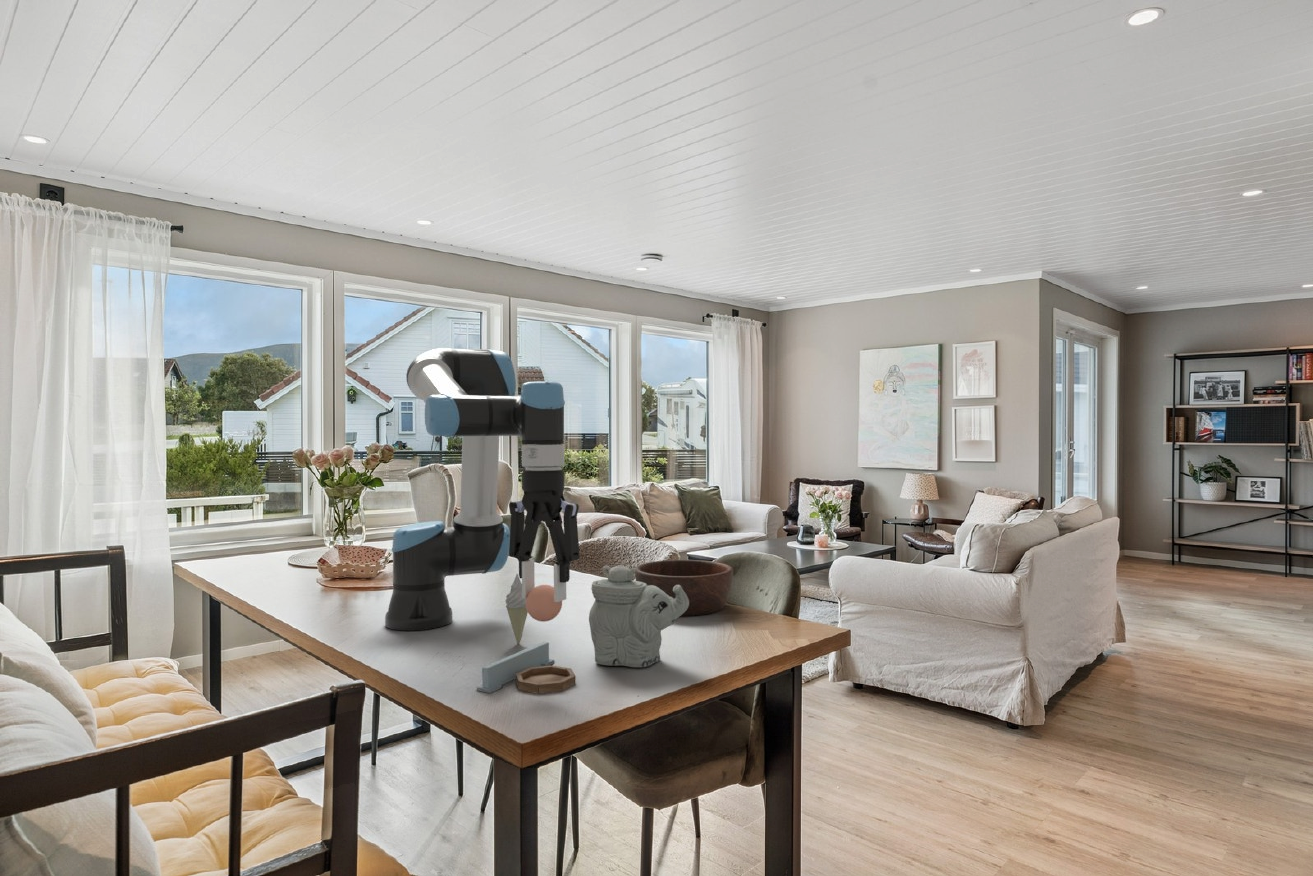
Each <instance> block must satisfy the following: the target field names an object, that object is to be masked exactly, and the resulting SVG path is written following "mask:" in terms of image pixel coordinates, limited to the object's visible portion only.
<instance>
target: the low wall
mask: <svg viewBox="0 0 1313 876" xmlns="http://www.w3.org/2000/svg"><path fill="white" fill-rule="evenodd" d="M554 664H555V659H550V642H548V641H543V642H539V643H537V644H535V645H533V646H529V647H528V648H525V649H523V650H520V651H518V652H515V653H513V654H511V655H508V656H506V657H503V658H502V659H498V660H496V661H495V662H492V663H490V664H487V665H483V666H482V667H481V668H482V669H481V670H482V672H481V673H482V674H481V675H482V676H481V677H482V681H481V682H482V684H480V685H477V686H476V691H478V692H483V693H489V694H491V693H494V692H496V691H497V690H499V689H502V685H504V684H506V683H507V684H508V683H509V682H511V681H513V680H516V674H517V673H519V672H521V671H524V670H526V669H528V668H531V667H541V666H552V665H554Z"/></svg>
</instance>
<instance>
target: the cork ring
mask: <svg viewBox="0 0 1313 876" xmlns="http://www.w3.org/2000/svg"><path fill="white" fill-rule="evenodd" d="M576 679H577V678H576V674H575V672H574V671H573V669H572V668H571V667H569V668H568V667H564V666H558V665H549V666H541V667H531V668H528V669H526V670H524V671H521V672H519V673H517V674H516V679H515V684H516V686H517V688H518V690H519V691H523V692H529V693H534V694H546V693H555V692H562V691H565V690H567V689H569V688H570V687H573V686H574V685H576V682H577V681H576Z"/></svg>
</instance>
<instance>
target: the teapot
mask: <svg viewBox="0 0 1313 876" xmlns="http://www.w3.org/2000/svg"><path fill="white" fill-rule="evenodd" d="M635 568H636V567H632V568H629V567H628V566H624V565H622V564H619V565H617V566H614V567H613V566H612V567H610V566H609V565H604V566H603V567H602V570H601V571H602V573H603V575H604V576H605V577H606V578H604V579H598V580H593V581H592V583H591V587H590V588H591V593H592V596H593V598H594V599H595V600H594V602H593V604H592V606H591V608H590V610H589V613H588V614H589V616H588V622H589V624H588V625H589V629H590V636H591V640H592V644H593V647H594V662H595V663H596V664H598V665H602V666H608V667H609V666H611V667H612V666H616V667H617V666H625V667H629V668H646V667H650V666H651V665H652V664H654V663H658V662H659V661H660V660H661V654H660V649H661V645H662V639H663V638H662V631H663V630H664V629H666V628H668V627H670V626H672V625H673V624H674V623H675V622H676V620H677V619H678V618H680V617H682V616H681V615H682V614H683V613H684V612H685V611H686V610H687V608H688V606H689V599H688V597H687V595H686V593H685V592H684V590H683V589H682V587H681V586H680V585H675V586H674V587H673V592H674V593H675V594H676V598H675V599H674V598H672V597H670V596H669V595H667V594H666V593H665V592H663V591H662V590H661V589H660V588H658V587H656V586H653V585H649V586H648V585H646V583H644V582H639V581H636V580H633V578H634V575H635V571H636V569H635ZM607 571H608V572H607Z"/></svg>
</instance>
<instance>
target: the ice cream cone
mask: <svg viewBox="0 0 1313 876" xmlns="http://www.w3.org/2000/svg"><path fill="white" fill-rule="evenodd" d="M505 597H506V599H505V604H506V605H505V608H506V611H507V614H508V617H509V620H510V624H511V629H512V631H513V635H514V638H515V642H516V645H520V643H521V639H522V637H523V636H522V635H523V632H524V628H525V624H526V621H527V617H528V614H529V613H528V611H527V609H526V599H527V598H526V599H525V598H522V580H521V578H520V577H519V573H516V575H515V577H514V580H513V582H512V584H511V586H510V591H509V593H507V595H506V596H505Z"/></svg>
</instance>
